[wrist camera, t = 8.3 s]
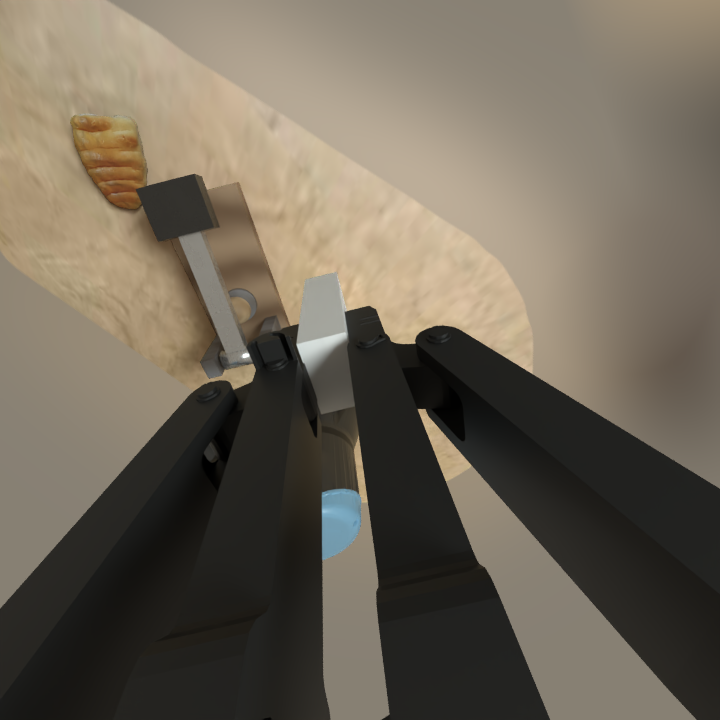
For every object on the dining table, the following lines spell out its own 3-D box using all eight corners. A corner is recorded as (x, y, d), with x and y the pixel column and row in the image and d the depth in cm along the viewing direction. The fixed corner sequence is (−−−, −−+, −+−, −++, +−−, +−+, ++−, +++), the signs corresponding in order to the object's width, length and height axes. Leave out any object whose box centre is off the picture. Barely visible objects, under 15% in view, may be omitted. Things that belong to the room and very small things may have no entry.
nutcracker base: (290, 327, 51) (283, 366, 41) (227, 343, 52) (204, 385, 42) (238, 182, 41) (212, 187, 31) (159, 202, 42) (109, 213, 32)
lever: (268, 356, 43) (264, 364, 41) (223, 367, 44) (216, 375, 41) (204, 177, 36) (194, 173, 33) (149, 191, 36) (135, 188, 33)
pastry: (163, 207, 42) (150, 211, 39) (106, 208, 42) (87, 212, 38) (138, 114, 37) (120, 109, 34) (73, 114, 37) (48, 109, 34)
